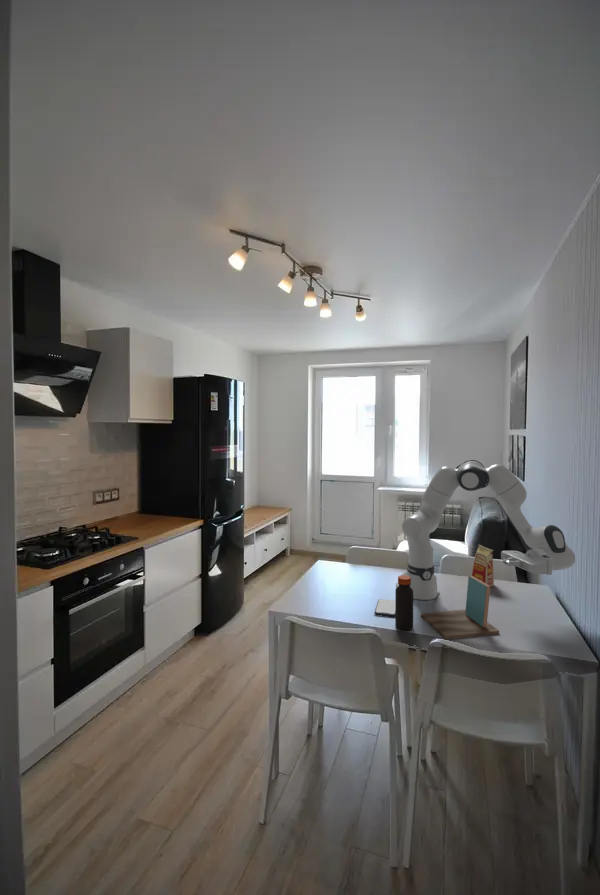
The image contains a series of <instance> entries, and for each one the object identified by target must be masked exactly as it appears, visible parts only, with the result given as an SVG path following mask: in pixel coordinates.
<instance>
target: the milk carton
mask: <svg viewBox="0 0 600 895" xmlns="http://www.w3.org/2000/svg"><path fill="white" fill-rule="evenodd" d="M493 552H494V549H490V548H488V547H485V546H483V545H481V544H478V547H477V550H476V551H475V556H474V559H473V564H472V567H471V575H470V576H473V577H475V578H477V579H479V580H480V581H482V582H484V583H486V584H487V585H489V586H490V587H492V586H493V587H494V585H495V584H494V582H495V580H494V578H495V577H494V574H495V573H494V561H493V560H494V559H493ZM493 584H494V585H493ZM493 587H492V588H493Z"/></svg>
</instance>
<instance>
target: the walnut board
mask: <svg viewBox="0 0 600 895" xmlns="http://www.w3.org/2000/svg"><path fill="white" fill-rule="evenodd" d="M465 611H466V608H464V609H456V610H445V611H436V612H423V613H420V617H421V618H422V619H423V620H424V621H425V622H426V623H427V624H428V625H429V626H431V627H432V628H433V630H435V631H436V632H437V633H439V635H440V636H441V637H443V639H445V640H453V639H460V638H461V639H464V638H473V637H474V638H475V637H481V636H482V637H483V636H492V635H499V634H500V630H499V629H498V628H496V627H495V626H493V625H492V624H491V623H489V622H488V621H487V627H482V626H481V625H479V624H478V623H477V622H475V621H474V620H473V619H471V618H470V617H469V616H467V615H466V614H465Z"/></svg>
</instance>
